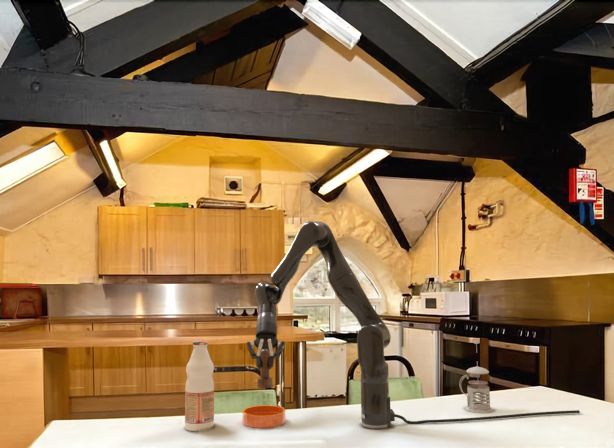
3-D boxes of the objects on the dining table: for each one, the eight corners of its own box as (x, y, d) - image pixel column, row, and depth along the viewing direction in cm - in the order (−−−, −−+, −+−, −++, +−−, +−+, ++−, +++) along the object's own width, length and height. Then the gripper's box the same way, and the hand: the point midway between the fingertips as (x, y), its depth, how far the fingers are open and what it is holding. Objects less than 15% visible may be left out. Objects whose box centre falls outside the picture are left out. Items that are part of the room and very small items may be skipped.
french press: (497, 412, 189) (494, 341, 191) (464, 413, 189) (462, 342, 191) (488, 406, 198) (485, 338, 201) (457, 406, 199) (454, 338, 201)
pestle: (273, 384, 181) (272, 347, 182) (272, 388, 176) (272, 349, 177) (257, 385, 181) (257, 347, 182) (256, 388, 176) (256, 349, 177)
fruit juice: (182, 432, 168) (183, 343, 171) (187, 423, 178) (188, 339, 180) (211, 431, 169) (212, 342, 171) (215, 423, 178) (216, 339, 181)
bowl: (285, 418, 184) (285, 405, 184) (284, 430, 169) (284, 415, 170) (244, 418, 183) (245, 405, 184) (240, 430, 169) (240, 416, 170)
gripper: (246, 320, 188) (242, 361, 174) (285, 320, 188) (285, 360, 174) (247, 334, 192) (244, 374, 179) (286, 333, 193) (285, 374, 179)
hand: (264, 367), depth 177 cm, fingers closed on pestle, 3 cm apart
